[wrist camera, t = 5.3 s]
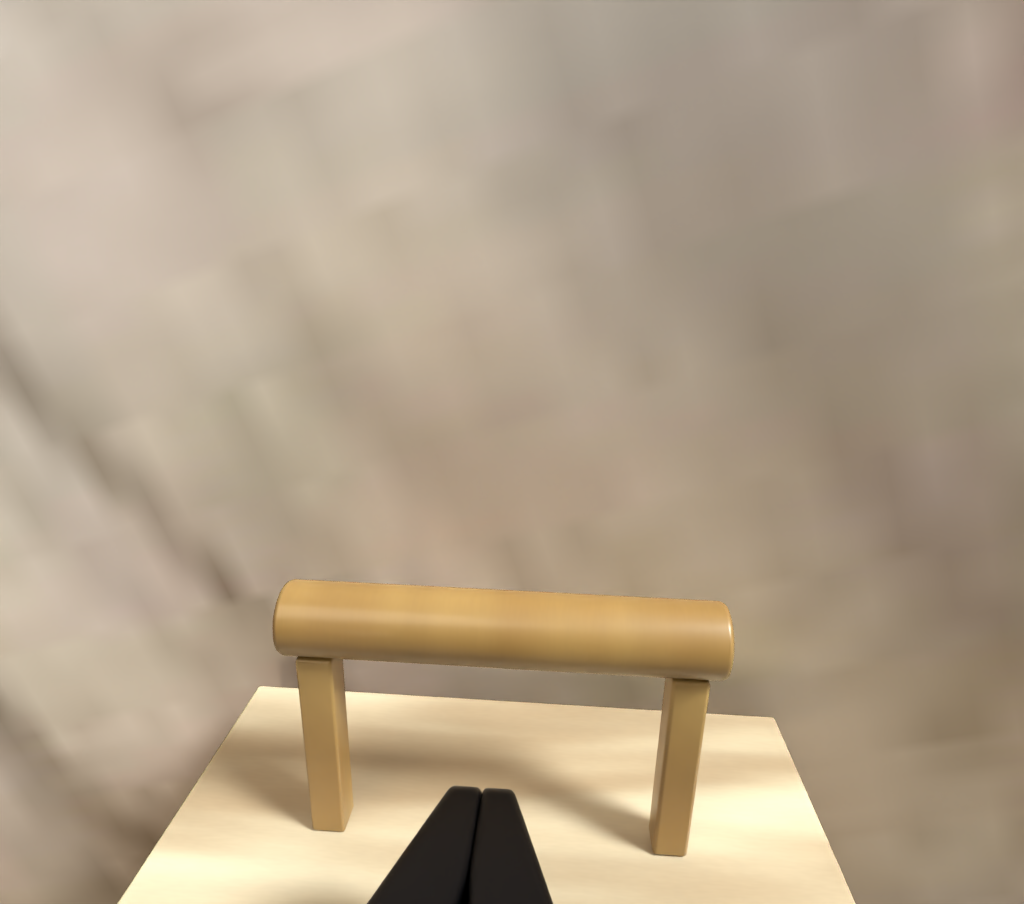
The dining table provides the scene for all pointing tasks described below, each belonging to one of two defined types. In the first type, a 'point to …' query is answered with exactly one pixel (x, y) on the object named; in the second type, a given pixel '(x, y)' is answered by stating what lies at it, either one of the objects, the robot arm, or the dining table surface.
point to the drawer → (496, 759)
